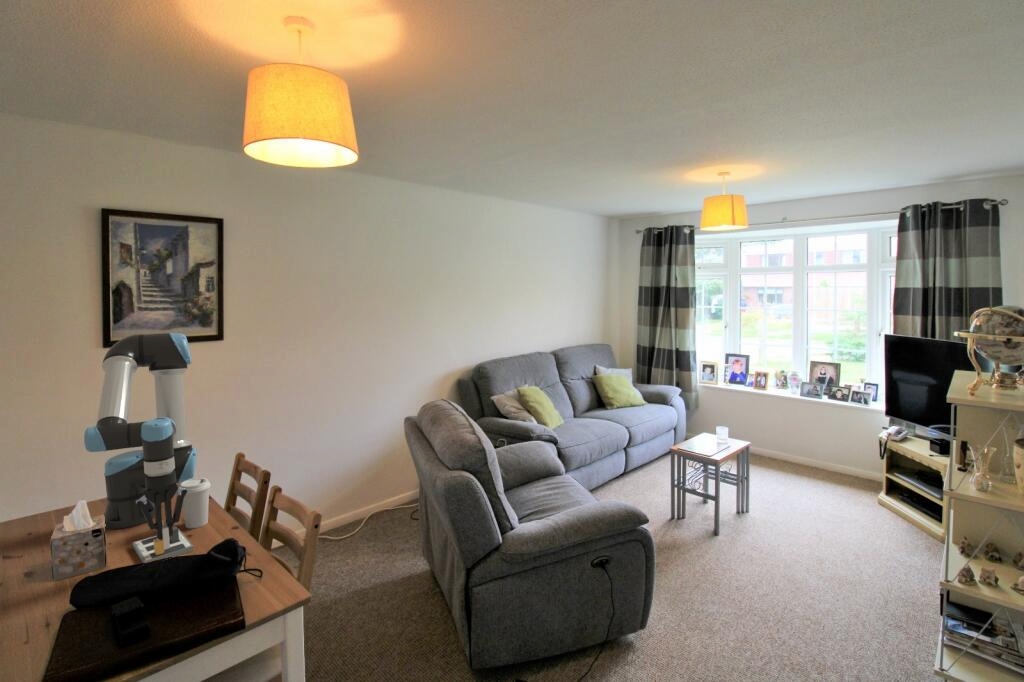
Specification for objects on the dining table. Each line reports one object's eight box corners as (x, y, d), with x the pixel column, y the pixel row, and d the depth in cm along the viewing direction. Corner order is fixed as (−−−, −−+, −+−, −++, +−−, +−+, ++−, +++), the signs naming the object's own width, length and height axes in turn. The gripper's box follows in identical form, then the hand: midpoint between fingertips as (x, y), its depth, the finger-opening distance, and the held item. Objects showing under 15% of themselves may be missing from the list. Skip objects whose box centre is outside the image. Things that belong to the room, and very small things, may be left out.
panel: (132, 547, 160) (131, 529, 159) (179, 533, 169) (178, 516, 168) (144, 566, 149) (143, 547, 148) (193, 550, 158) (192, 532, 157)
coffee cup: (197, 532, 169) (194, 488, 168) (173, 529, 171) (170, 486, 170) (219, 519, 179) (217, 477, 177) (196, 516, 181) (193, 475, 179)
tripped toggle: (154, 552, 153) (153, 539, 152) (162, 549, 154) (161, 536, 154) (156, 555, 151) (155, 542, 151) (164, 552, 153) (163, 539, 152)
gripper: (136, 481, 144) (142, 560, 147) (188, 469, 153) (194, 543, 156) (130, 474, 149) (136, 550, 152) (181, 463, 159) (187, 535, 161)
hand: (165, 547), depth 154 cm, fingers closed
